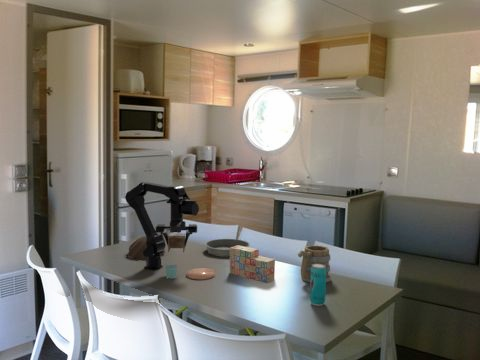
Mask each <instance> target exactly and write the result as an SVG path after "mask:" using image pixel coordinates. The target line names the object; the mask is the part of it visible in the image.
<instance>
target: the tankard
mask: <svg viewBox="0 0 480 360" xmlns="http://www.w3.org/2000/svg"><path fill="white" fill-rule="evenodd" d="M297 256H298V258H300V259H301V258H302V264H301V267H300V277H301V280H302V281H304V282H307V283H310V282H311V268H312V265H313V264H323V265H325V266H326V267H325V268H326V283H329V282H331V281H332V276H331V274H330V273H329V272H331V265H330V261H331V255H330V249H329V248H328V247H327V246H323V245H308V246H304V250H300V251H299V252H298V253H297Z"/></svg>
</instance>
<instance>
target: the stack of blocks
mask: <svg viewBox="0 0 480 360" xmlns="http://www.w3.org/2000/svg"><path fill="white" fill-rule="evenodd" d="M229 249H230V257H229V274H233V275H236V276H239V277H242V278H247V279H252V280H255V281H260V282H264V283H269V282H271V281H273V280H275V274H276V273H275V271H276V270H275V269H276V268H275V267H276V259H275V258H271V257H270V258H269V257H267V256H262V255H259V252H260V251H259V249H258V248H253V247H251V246H249V247H244V246H239V245H237V246H234V247H229Z"/></svg>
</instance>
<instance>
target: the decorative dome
mask: <svg viewBox="0 0 480 360" xmlns="http://www.w3.org/2000/svg"><path fill="white" fill-rule="evenodd" d="M146 238H147V237H146V235H145V236H144V235H143V236H141V237H138V238H137V239H136V240H135V241H133V242H132V244H129V245H130V246H129V247H128V253H127V257H129V256H130V258H131V259H133V258H138V259H139V260H146V256H144V255H143V251H144V250H145V249H146V248H147V245H146ZM165 253H166V250H165V249H164V250H163V253H162V254H159V255H161V257H164V256H165Z"/></svg>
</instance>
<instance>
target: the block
mask: <svg viewBox="0 0 480 360" xmlns="http://www.w3.org/2000/svg"><path fill="white" fill-rule="evenodd" d="M168 278H170V279H177V264H166V266H165V279H166V280H167V279H168Z"/></svg>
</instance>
